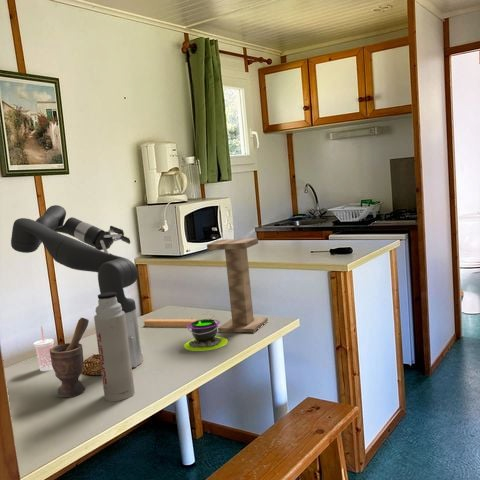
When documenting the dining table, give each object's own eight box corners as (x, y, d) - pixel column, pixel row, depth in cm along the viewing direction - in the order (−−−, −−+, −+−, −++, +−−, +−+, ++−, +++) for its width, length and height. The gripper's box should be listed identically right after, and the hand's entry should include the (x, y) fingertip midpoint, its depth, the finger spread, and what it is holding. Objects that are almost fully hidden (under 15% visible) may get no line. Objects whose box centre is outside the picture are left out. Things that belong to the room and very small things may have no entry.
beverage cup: (61, 366, 174) (55, 324, 172) (45, 373, 169) (39, 329, 167) (49, 364, 177) (43, 323, 175) (33, 370, 172) (27, 328, 170)
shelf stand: (214, 331, 195) (205, 245, 192) (230, 321, 208) (222, 239, 204) (254, 333, 189) (245, 243, 186) (267, 321, 202) (260, 237, 198)
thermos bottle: (105, 403, 140) (91, 298, 137) (103, 392, 148) (90, 293, 144) (136, 397, 142) (123, 293, 139) (133, 386, 150) (120, 288, 147)
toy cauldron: (176, 351, 178) (172, 319, 177) (194, 337, 192) (190, 307, 191) (218, 351, 173) (215, 318, 172) (233, 337, 187) (230, 306, 186)
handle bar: (144, 327, 213) (143, 321, 212) (148, 325, 216) (147, 319, 215) (195, 327, 205) (194, 321, 205) (198, 325, 208) (197, 319, 208)
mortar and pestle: (77, 381, 158) (68, 315, 156) (101, 383, 155) (92, 316, 153) (49, 397, 148) (39, 327, 146) (74, 400, 144) (64, 328, 142)
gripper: (76, 243, 206) (111, 259, 202) (97, 215, 212) (132, 231, 208) (80, 253, 212) (115, 269, 208) (101, 226, 219) (135, 241, 215)
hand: (123, 250), depth 208 cm, fingers open, 8 cm apart
